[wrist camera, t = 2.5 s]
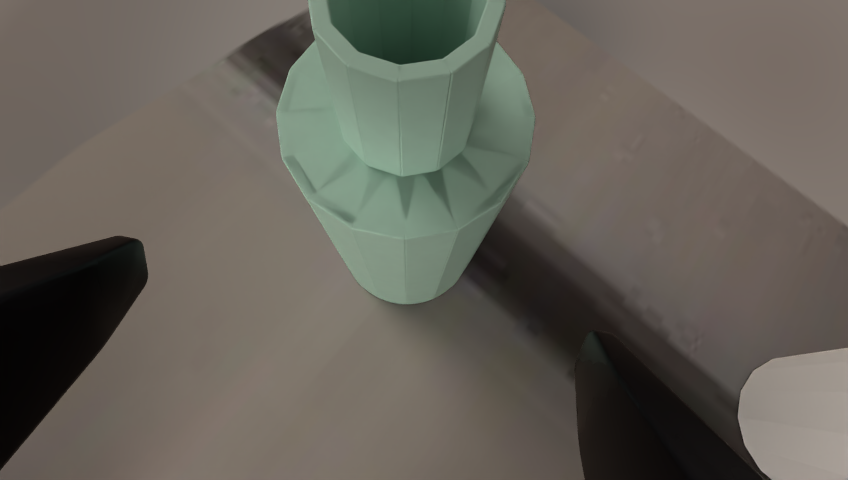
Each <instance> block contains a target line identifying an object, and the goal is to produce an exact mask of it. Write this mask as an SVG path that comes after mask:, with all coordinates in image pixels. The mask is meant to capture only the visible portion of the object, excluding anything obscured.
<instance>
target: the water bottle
mask: <svg viewBox="0 0 848 480" xmlns="http://www.w3.org/2000/svg"><path fill="white" fill-rule="evenodd" d="M308 4H309V11H310V17H311V23H312V30H313V33H314V37H315V41H314V42H313V43H312V44H311V46H310V47H309V48H308V49H307V50H306V51H305V52H304V53H303V55H302V56H301V57H300V58H299V59H298V60H297V61H296V62H295V64H294V65H293V66H292V67H291V69H290V70H289V73H288V76H287V80H286V83H285V86H284V89H283V92H282V95H281V98H280V101H279V104H278V107H277V110H276V118H277V126H278V134H279V141H280V149H281V157H282V160H283V162H284V163H285V165H286V167H287V168H288V170H289V171H290V173H291V175H292V176H293V178H294V180H295V181H296V183H297V185H298V186H299V188H300V190H301V191H302V193H303V195H304V196H305V198H306V199H307V201H308V203H309V204H310V206H311V208H312V209H313V211H314V213H315V214H316V216H317V218H318V219H319V221H320V222H321V224H322V226H323V227H324V229H325V231H326V232H327V234H328V236H329V237H330V239H331V241H332V242H333V244H334V245H335V247H336V249H337V250H338V252H339V254H340V255H341V257H342V259H343V260H344V262H345V264H346V265H347V267H348V268H349V270H350V271H351V273H352V275H353V276H354V278H355V279H356V281H357V282H358V283H359V285H361V286H362V287H363V288H364V289H366V290H367V291H368V292H369V293H371V294H373V295H374V296H376V297H378V298H380V299H382V300H385V301H388V302H392V303H397V304H417V303H422V302H426V301H429V300H432V299H434V298H436V297H438V296H440V295H442V294H443V293H445V292H446V291H447V290H448V289H450V288H451V287H452V286H454V285H455V284H456V282H457V281H458V279H459V278H460V276H461V275H462V273H463V272H464V270H465V269H466V267H467V266H468V264H469V262H470V261H471V259H472V257H473V256H474V254H475V252H476V251H477V249H478V247H479V246H480V244H481V242H482V241H483V239H484V237H485V236H486V234H487V232H488V230H489V229H490V227H491V225H492V224H493V222H494V220H495V219H496V217H497V215H498V214H499V212H500V210H501V209H502V207H503V205H504V204H505V202H506V200H507V199H508V197H509V195H510V194H511V192H512V190H513V188H514V187H515V185H516V183H517V182H518V180H519V178H520V177H521V175H522V173H523V172H524V170H525V168H526V167H527V165H528V162H529V158H530V152H531V145H532V139H533V132H534V126H535V114H534V110H533V107H532V103H531V100H530V96H529V93H528V89H527V86H526V82H525V79H524V75H523V74H522V72H521V71H520V70H519V68H518V67H517V66H516V65H515V63H514V62H513V61H512V60H511V58H510V57H509V56H508V55H507V54H506V52H505V51H504V50H503V49H502V47H501V46H500V45H499V44H498V42H497V41H496V40H497V37H498V33H499V29H500V26H501V22H502V18H503V15H504V11H505V7H506V1H505V0H308Z"/></svg>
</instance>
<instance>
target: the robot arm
mask: <svg viewBox="0 0 848 480" xmlns="http://www.w3.org/2000/svg"><path fill="white" fill-rule="evenodd" d="M147 279H148V270H147V264H146V258H145V252H144V247H143V244H142V243H141V241H139V240H138V239H134V238H129V237H124V236H114V237H110V238H107V239H103V240H99V241H95V242H91V243H87V244H84V245H80V246H76V247H72V248H68V249H64V250H60V251H57V252H53V253H49V254H45V255H41V256H37V257H34V258H30V259H26V260H22V261H18V262H14V263H11V264H7V265H3V266H0V470H1V469H2V468H3V467H4V465H5V464H6V463H7V462H8V461H9V459H10V458H11V457H12V456H13V455H14V453H15V452H16V451H17V450H18V449H19V447H20V446H21V445H22V444H23V443H24V441H25V440H26V439H27V438H28V437H29V436H30V434H31V433H32V432H33V431H34V430H35V428H36V427H37V426H38V425H39V424H40V422H41V421H42V420H43V419H44V418H45V416H46V415H47V414H48V413H49V412H50V410H51V409H52V408H53V407H54V406H55V404H56V403H57V402H58V401H59V400H60V399H61V397H62V396H63V395H64V394H65V393H66V391H67V390H68V389H69V388H70V387H71V385H72V384H73V383H74V382H75V381H76V379H77V378H78V377H79V376H80V375H81V373H82V372H83V371H84V370H85V369H86V367H87V366H88V365H89V364H90V363H91V362H92V360H93V359H94V358H95V357H96V355H97V354H98V353H99V352H100V350H101V349H102V348H103V347H104V345H105V344H106V342H107V341H108V340H109V338H110V337H111V335H112V334H113V332H114V331H115V330H116V328H117V327H118V325H119V324H120V322H121V321H122V319H123V318H124V316H125V315H126V313H127V312H128V310H129V309H130V307H131V306H132V304H133V303H134V301H135V300H136V298H137V297H138V295H139V294H140V293H141V291H142V290H143V288H144V286H145V285H146V282H147ZM574 373H575V391H576V408H577V426H578V440H579V448H580V455H581V461H582V467H583V472H584V478H585V480H764V479H763V477H762V476H761V475H760V474H758V473H757V472H756V471H755V470H754V469H753V468H752V467H751V466H750V465H749V464H748V463H747V462H746V461H745V460H744V459H743V458H742V457H741V456H740V455H739V454H738V453H737V452H736V451H735V450H734V449H732V448H731V447H730V446H729V445H728V444H727V443H726V442H725V441H724V440H723V439H722V438H721V437H720V436H719V435H718V434H717V433H716V432H715V431H714V430H713V429H712V428H711V427H710V426H709V425H708V424H706V423H705V422H704V421H703V420H702V419H701V418H700V417H699V416H698V415H697V414H696V413H695V412H694V411H693V410H692V409H691V408H690V407H689V406H688V405H687V404H686V403H685V402H684V401H683V400H682V399H680V398H679V397H678V396H677V395H676V394H675V393H674V392H673V391H672V390H671V389H670V388H669V387H668V386H667V385H666V384H665V383H664V382H663V381H662V380H661V379H660V378H659V377H658V376H657V375H656V374H654V373H653V372H652V371H651V370H650V369H649V368H648V367H647V366H646V365H645V364H644V363H643V362H642V361H641V360H640V359H639V358H638V357H637V356H636V355H635V354H634V353H633V352H632V351H631V350H630V349H628V348H627V347H626V346H625V345H624V344H623V343H622V342H621V341H620V340H619V339H618V338H617V337H616V336H615V335H614V334H612V333H609V332H604V331H599V330H592V331H590V332H589V333H588V335H587V337H586V339H585V341H584V343H583V346H582V348H581V350H580V352H579V355H578V357H577V359H576V362H575V369H574Z"/></svg>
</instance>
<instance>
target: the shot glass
mask: <svg viewBox="0 0 848 480" xmlns="http://www.w3.org/2000/svg"><path fill="white" fill-rule="evenodd" d="M738 421H739V425H740V429H741V433H742V437H743V441H744V445H745V447H746V448H747V450H748V451H749V453H750V454H751V456H752V458H753V459H754V461H755V462H756V464H757V465H758V467H759V469H760V470H761V471H762V472H763V473H764V474H766V475H767V476H768V477H769V478H771V479H772V480H848V348H843V349H836V350H829V351H823V352H816V353H809V354H802V355H795V356H788V357H781V358H774V359H771V360H770V361H768V362H767V363H765V364H763V365H762V366H760V367H758V368H757V369H755V370H753V372H752V373H751V375H750V377H749V378H748V380H747V382H746V383H745V385H744V387H743V388H742V390H741V393H740V401H739V409H738Z"/></svg>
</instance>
